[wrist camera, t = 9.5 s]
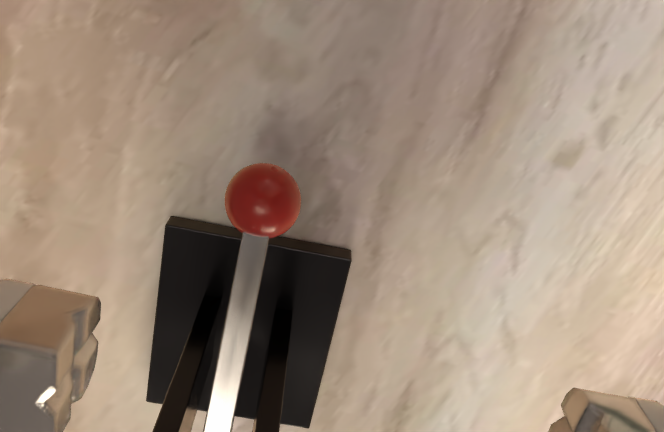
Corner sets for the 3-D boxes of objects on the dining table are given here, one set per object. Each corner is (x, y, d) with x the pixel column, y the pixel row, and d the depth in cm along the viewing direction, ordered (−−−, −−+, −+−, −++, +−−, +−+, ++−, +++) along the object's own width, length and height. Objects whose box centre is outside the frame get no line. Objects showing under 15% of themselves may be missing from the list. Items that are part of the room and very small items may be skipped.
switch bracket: (170, 215, 33) (68, 382, 20) (351, 249, 34) (361, 430, 21) (151, 388, 38) (58, 611, 25) (309, 415, 38) (297, 644, 26)
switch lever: (235, 162, 27) (230, 150, 24) (305, 176, 27) (309, 166, 24) (166, 503, 26) (151, 537, 23) (240, 514, 26) (235, 550, 23)
